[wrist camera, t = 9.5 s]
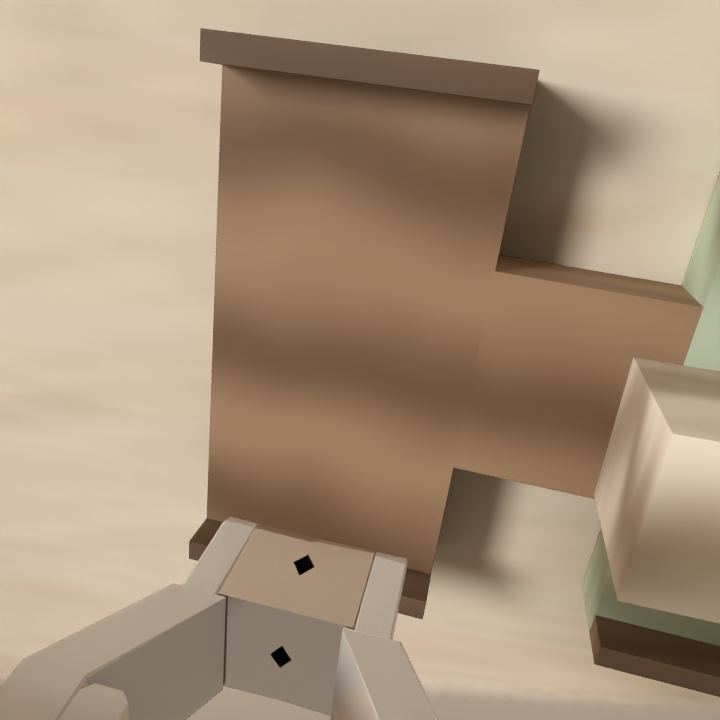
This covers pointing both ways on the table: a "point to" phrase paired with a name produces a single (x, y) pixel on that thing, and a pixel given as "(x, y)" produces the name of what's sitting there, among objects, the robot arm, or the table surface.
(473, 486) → the table surface
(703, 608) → the maple block
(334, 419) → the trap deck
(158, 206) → the table surface
